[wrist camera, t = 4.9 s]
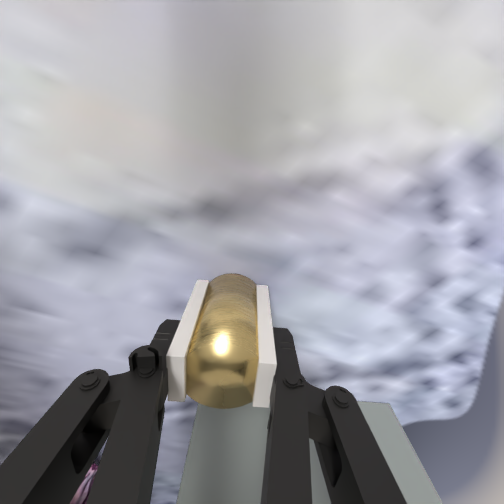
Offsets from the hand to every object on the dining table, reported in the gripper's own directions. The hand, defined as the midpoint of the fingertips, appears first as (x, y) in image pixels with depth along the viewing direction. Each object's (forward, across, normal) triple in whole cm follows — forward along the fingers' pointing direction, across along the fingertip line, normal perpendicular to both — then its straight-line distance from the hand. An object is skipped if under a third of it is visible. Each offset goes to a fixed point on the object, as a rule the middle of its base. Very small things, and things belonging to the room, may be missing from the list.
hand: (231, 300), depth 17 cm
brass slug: (0, 0, 0) cm, 0 cm away
